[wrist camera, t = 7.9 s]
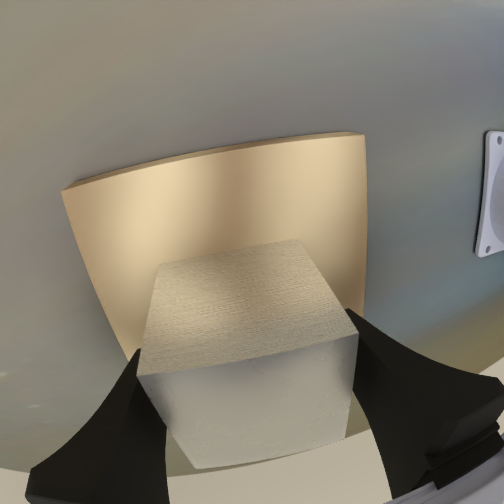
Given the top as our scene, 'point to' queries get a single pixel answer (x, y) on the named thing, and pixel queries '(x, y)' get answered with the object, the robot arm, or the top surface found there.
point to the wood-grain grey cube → (248, 355)
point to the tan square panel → (222, 217)
